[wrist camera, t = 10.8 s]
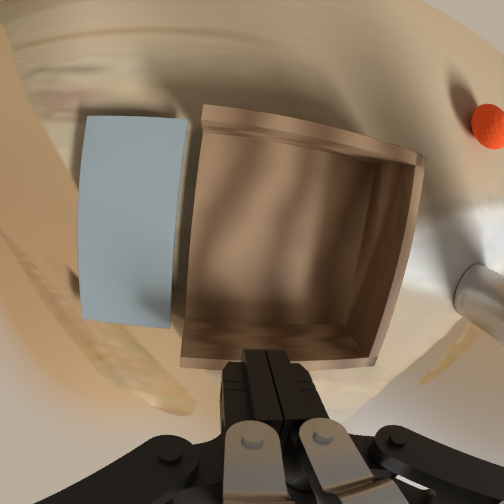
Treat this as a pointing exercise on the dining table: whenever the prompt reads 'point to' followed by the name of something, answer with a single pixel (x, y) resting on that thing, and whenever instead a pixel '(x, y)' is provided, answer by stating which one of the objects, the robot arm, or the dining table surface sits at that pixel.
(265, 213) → the crate
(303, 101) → the dining table surface
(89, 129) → the rectangular panel
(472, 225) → the dining table surface
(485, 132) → the clementine
